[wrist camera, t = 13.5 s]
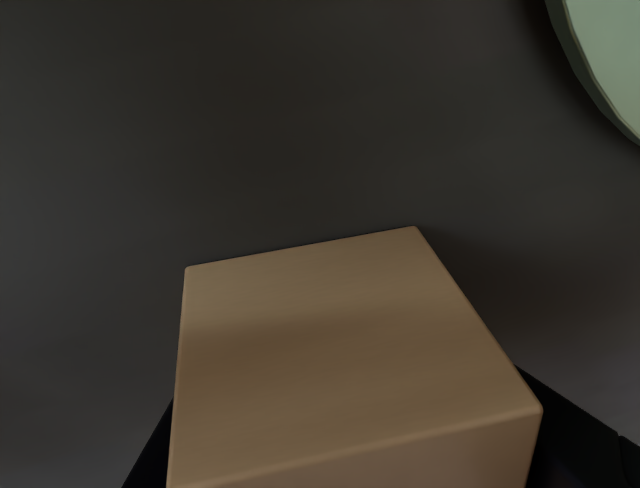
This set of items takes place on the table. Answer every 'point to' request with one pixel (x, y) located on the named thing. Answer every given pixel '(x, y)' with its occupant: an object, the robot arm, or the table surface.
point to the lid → (604, 54)
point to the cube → (343, 374)
